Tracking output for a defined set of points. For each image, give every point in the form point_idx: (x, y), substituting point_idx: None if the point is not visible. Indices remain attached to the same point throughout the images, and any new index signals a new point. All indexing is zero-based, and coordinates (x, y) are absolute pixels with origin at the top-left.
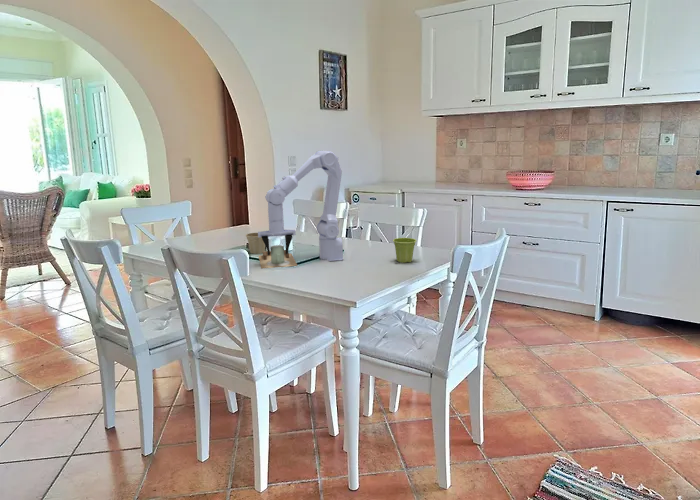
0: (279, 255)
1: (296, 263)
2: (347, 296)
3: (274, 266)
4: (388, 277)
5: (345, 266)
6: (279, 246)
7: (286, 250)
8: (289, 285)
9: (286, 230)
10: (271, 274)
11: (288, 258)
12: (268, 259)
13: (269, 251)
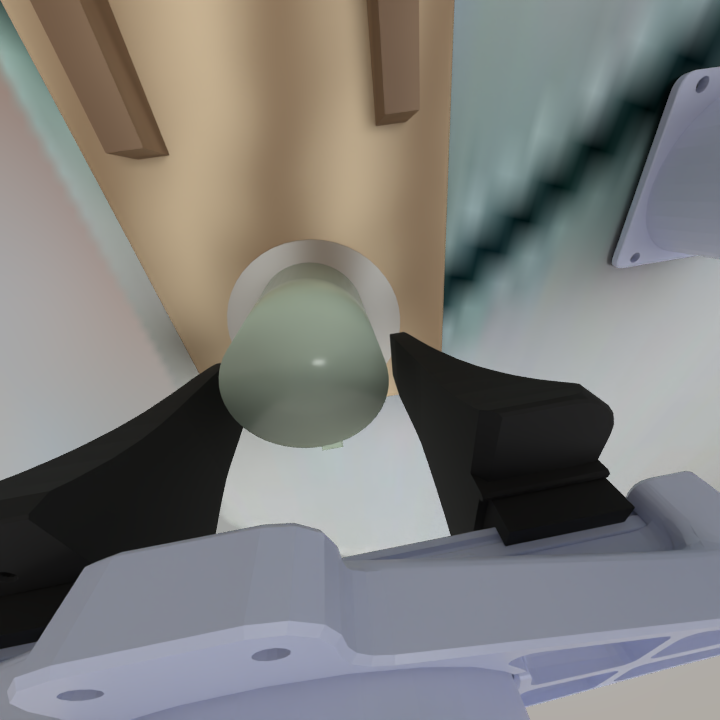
0: (340, 443)
1: (441, 338)
2: None
3: None
4: None
5: (664, 373)
6: (335, 383)
7: (404, 401)
8: None
9: (617, 608)
10: (304, 471)
11: (396, 144)
12: (186, 150)
13: (240, 432)
